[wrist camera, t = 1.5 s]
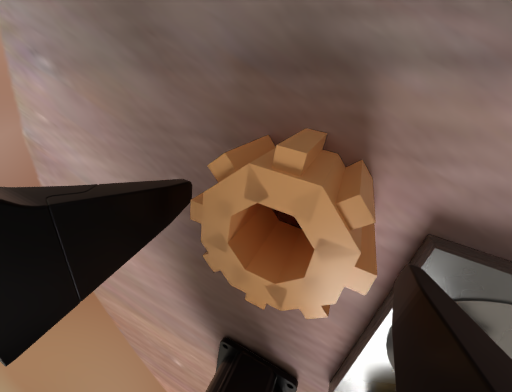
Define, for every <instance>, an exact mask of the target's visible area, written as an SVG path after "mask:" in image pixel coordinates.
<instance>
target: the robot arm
mask: <svg viewBox="0 0 512 392" xmlns="http://www.w3.org/2000/svg"><path fill="white" fill-rule="evenodd" d="M191 199H192V183H191V182H190V181H188V180H185V179H175V180H159V181H143V182H127V183H111V184H99V185H97V184H94V185H77V186H50V187H16V188H15V187H0V362H1V363H2V364H3V365H4V366H7V365H9V364H10V363H11V362H13V361H14V360H15V359H16V358H18V357H19V356H20V355H21V354H22V353H23V352H24V351H26V350H27V349H28V348H29V347H30V346H31V345H32V344H34V343H35V342H36V341H37V340H38V339H39V338H40V337H42V336H43V335H44V334H45V333H46V332H47V331H48V330H50V329H51V328H52V327H53V326H54V325H55V324H56V323H58V322H59V321H60V320H61V319H62V318H63V317H64V316H66V315H67V314H68V313H69V312H70V311H71V310H72V309H74V308H75V307H76V306H77V305H78V304H79V303H80V301H82V300H84V299H85V298H86V297H87V296H88V295H89V294H90V293H92V292H93V291H94V290H95V289H96V288H97V287H98V286H100V285H101V284H102V283H103V282H104V281H105V280H106V279H108V278H109V277H110V276H111V275H112V274H113V273H114V272H116V271H117V270H118V269H119V268H120V267H121V266H122V265H124V264H125V263H126V262H127V261H128V260H129V259H130V258H132V257H133V256H134V255H135V254H136V253H137V252H139V251H140V250H141V249H142V248H143V247H144V246H145V245H147V244H148V243H149V242H150V241H151V240H152V239H153V238H155V237H156V236H157V235H158V234H159V233H160V232H161V231H163V230H164V229H165V228H166V227H167V226H168V225H169V224H170V223H171V222H172V221H173V220H174V219H175V218H176V217H177V216H178V215H179V214H180V213H181V212H182V210H183V209H184V208H185V207H186V206H187V205H188V204H189V203H190V201H191ZM392 340H393V355H394V369H395V383H396V392H512V359H511V358H510V357H509V356H508V355H507V354H506V353H505V352H504V351H503V350H502V349H501V348H500V347H499V346H498V345H497V344H496V343H495V342H494V341H493V340H492V339H491V338H490V337H489V336H488V335H487V334H486V333H485V332H484V331H483V330H482V328H481V327H480V326H479V325H478V324H477V323H476V322H475V321H474V320H473V319H472V318H471V317H470V316H469V315H468V314H467V313H466V312H465V311H464V310H463V309H462V308H461V307H460V306H459V305H458V304H457V303H456V302H455V301H454V300H453V299H452V298H451V297H450V296H449V295H448V294H447V293H446V292H445V291H444V290H443V289H442V288H441V287H440V286H439V285H438V284H437V283H436V282H435V281H434V280H433V279H432V278H431V277H430V276H429V275H428V274H427V273H426V272H425V271H424V270H423V269H422V268H420V267H417V266H414V265H412V264H407V265H406V266H405V267H404V269H403V270H402V272H401V273H400V275H399V276H398V278H397V279H396V281H395V284H394V295H393V312H392ZM297 386H298V381H297V380H296V379H295V378H294V377H292V376H290V375H289V374H287V373H285V372H284V371H282V370H280V369H279V368H277V367H275V366H274V365H272V364H270V363H269V362H267V361H265V360H264V359H262V358H260V357H259V356H257V355H255V354H254V353H252V352H250V351H249V350H247V349H245V348H244V347H242V346H240V345H239V344H237V343H235V342H234V341H232V340H230V339H229V338H226V337H224V338H223V339H222V341H221V342H220V347H219V354H218V361H217V368H216V373H215V375H214V377H213V379H212V381H211V383H210V384H209V386H208V388H207V390H206V392H296V390H297Z"/></svg>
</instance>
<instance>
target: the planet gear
mask: <svg viewBox="0 0 512 392" xmlns="http://www.w3.org/2000/svg"><path fill="white" fill-rule="evenodd" d="M326 136H327V133H324V132H320V131H316V130H312V129H307V128H306V129H304V130H302V131H301V132H299V133H297V134H295V135H293V136H292V137H290V138H288V139H286V140H284V141H283V142H281V143H279V144H277V145H276V147H275V145H274V144H273V142H272V140H271V138H270V137H269V135H267V136H264V137H262V138H259V139H257V140H255V141H252V142H250V143H247V144H245V145H242V146H240V147H237V148H235V149H233V150H230V151H228V152H225V153H224V154H222V155H221V156H220V157H218V158H217V159H216V160H214V161H213V162H211V163H210V164H209V165H207V166H208V167H209V169H210V170H211V172H212V173H213V175H214V177H215V178H216V180H217V181H218V183H217V184H216V185H214V186H213V187H211V188H209V189H208V190H206V191H205V192H203V193H201V194H200V195H198V196H196V197H195V198H193V199H191V205H190V219H191V220H193V221H196V222H198V223H200V224H202V226H201V242H202V244H203V245H204V247H205V248H206V250H207V252H206V253H205V254H204V255H203V257H204V259H205V260H206V262H207V263H208V265H209V266H210V268H211V269H212V271H213V272H217V271H220V270H221V272H222V273H223V275H224V276H225V278H226V279H227V280H228V282H229V283H230V285H231V286H233V287H235V288H237V289H239V290H241V291H243V292H245V293H246V297H245V300H246V301H248V302H250V303H252V304H254V305H256V306H258V307H259V308H261V309H263V310H264V309H265V307H266V304H268V305H270V306H272V307H274V308H276V309H278V310H280V311H284V310H292V309H300V310H301V312H302V314H303V315H304V317H305V318H306V319H314V318H324V317H328V314H329V308H330V305H331V304H336V302H337V300H338V298H339V296H340V294H341V292H342V290H343V288H344V287H346V288H349V289H351V290H353V291H356V292H358V293H360V294H362V295H365V296H366V294H367V292H368V291H369V289H370V287H371V285H372V284H373V282H374V280H375V279H376V277H377V264H376V246H375V229H374V223H376V221H375V207H374V192H373V178H372V177H371V175H370V173H369V171H368V169H367V167H366V166H365V164H364V162H363V160H360V161H358V162H356V163H354V164H352V165H350V166H348V167H345V165H344V164H343V162H342V160H341V158H340V156H339V155H338V154H337V153H333V152H329V151H326V150H322V149H323V146H324V143H325V139H326ZM272 208H273V209H275V210H278V211H281V212H284V213H286V214H289V215H292V216H294V217H295V218H296V220H297V222H298V223H299V225H300V227H301V228H302V229H300V228H297V227H294V226H292V225H289V224H287V223H284V222H281V221H279V220H278V218H277V216H276V215H275V213H274V212H273V210H272Z"/></svg>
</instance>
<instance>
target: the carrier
mask: <svg viewBox="0 0 512 392" xmlns="http://www.w3.org/2000/svg"><path fill="white" fill-rule="evenodd" d="M409 264H412V265H414V266H417V267H420V268H422V269H423V270H424V271H425V272H426V273H427V274H428V275H429V276H430V277H431V278H432V279H433V280H434V281H435V282H436V283H437V284H438V285H439V286H440V287H441V288H442V289H443V290H444V291H445V292H446V293H447V294H448V295H449V296H450V297H451V298H452V299H453V300H454V301H455V302H456V303H457V304H458V305H459V306H460V307H461V308H462V309H463V310H464V311H465V312H466V313H467V314H468V315H469V316H470V317H471V318H472V319H473V320H474V321H475V322H476V323H477V324H478V325H479V326H480V327H481V328H482V330H483V331H484V332H485V333H486V334H487V335H488V336H489V337H490V338H491V339H492V340H493V341H494V342H495V343H496V344H497V345H498V346H499V347H500V348H501V349H502V350H503V351H504V352H505V353H506V354H507V355H508V356H509V357H510V358H511V359H512V262H511V261H508V260H505V259H502V258H499V257H496V256H493V255H490V254H487V253H484V252H481V251H478V250H475V249H472V248H469V247H466V246H463V245H460V244H457V243H454V242H451V241H448V240H445V239H442V238H439V237H436V236H433V235H430V234H429V235H428V236H427V238H426V239H425V241H424V242H423V244H422V245H421V247H420V248H419V250H418V251H417V253H416V254H415V256H414V257H413V259H412V260H411V262H410V263H409ZM393 295H394V287H393V289H392V290H391V292H390V293H389V295H388V296H387V298H386V299H385V301H384V302H383V304H382V305H381V307H380V308H379V310H378V311H377V313H376V314H375V316H374V318H373V319H372V321H371V322H370V324H369V325H368V327H367V328H366V330H365V331H364V333H363V334H362V336H361V337H360V339H359V340H358V342H357V343H356V345H355V346H354V348H353V349H352V351H351V352H350V354H349V355H348V357H347V358H346V360H345V361H344V363H343V364H342V366H341V367H340V369H339V370H338V372H337V373H336V375H335V376H334V378H333V379H332V381H331V382H330V384H329V391H328V392H396V383H395V369H394V355H393V340H392V312H393Z"/></svg>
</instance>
